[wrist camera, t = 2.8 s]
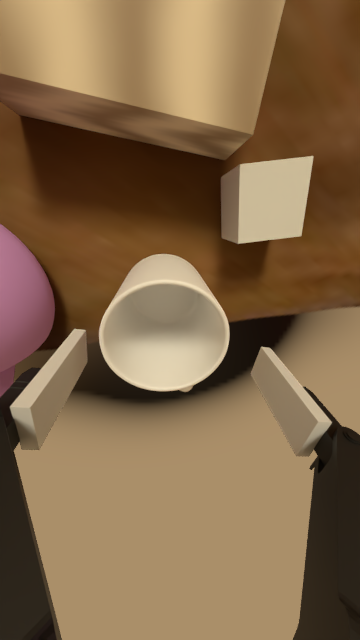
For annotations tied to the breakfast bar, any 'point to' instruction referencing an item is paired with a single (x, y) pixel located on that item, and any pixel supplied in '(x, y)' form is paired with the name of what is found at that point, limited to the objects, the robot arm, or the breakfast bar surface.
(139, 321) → the mug
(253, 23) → the oak block
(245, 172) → the beige block
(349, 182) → the breakfast bar surface
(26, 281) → the teapot
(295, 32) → the breakfast bar surface
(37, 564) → the robot arm
